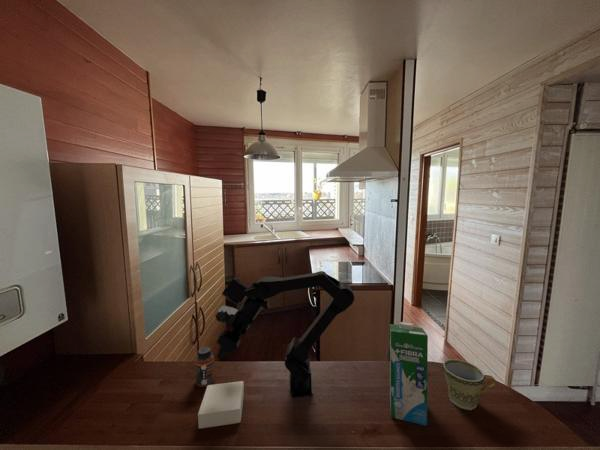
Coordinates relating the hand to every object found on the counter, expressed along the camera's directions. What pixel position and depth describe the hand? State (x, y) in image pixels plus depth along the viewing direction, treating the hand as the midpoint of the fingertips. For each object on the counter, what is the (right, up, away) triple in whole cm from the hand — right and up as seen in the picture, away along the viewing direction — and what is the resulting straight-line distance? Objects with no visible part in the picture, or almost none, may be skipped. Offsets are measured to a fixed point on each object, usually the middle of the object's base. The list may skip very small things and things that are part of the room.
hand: (223, 349), depth 79 cm
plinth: (+2, -13, -8) cm, 16 cm away
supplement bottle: (-7, -13, +3) cm, 15 cm away
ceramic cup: (+75, -12, -8) cm, 77 cm away
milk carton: (+56, -12, -10) cm, 58 cm away
